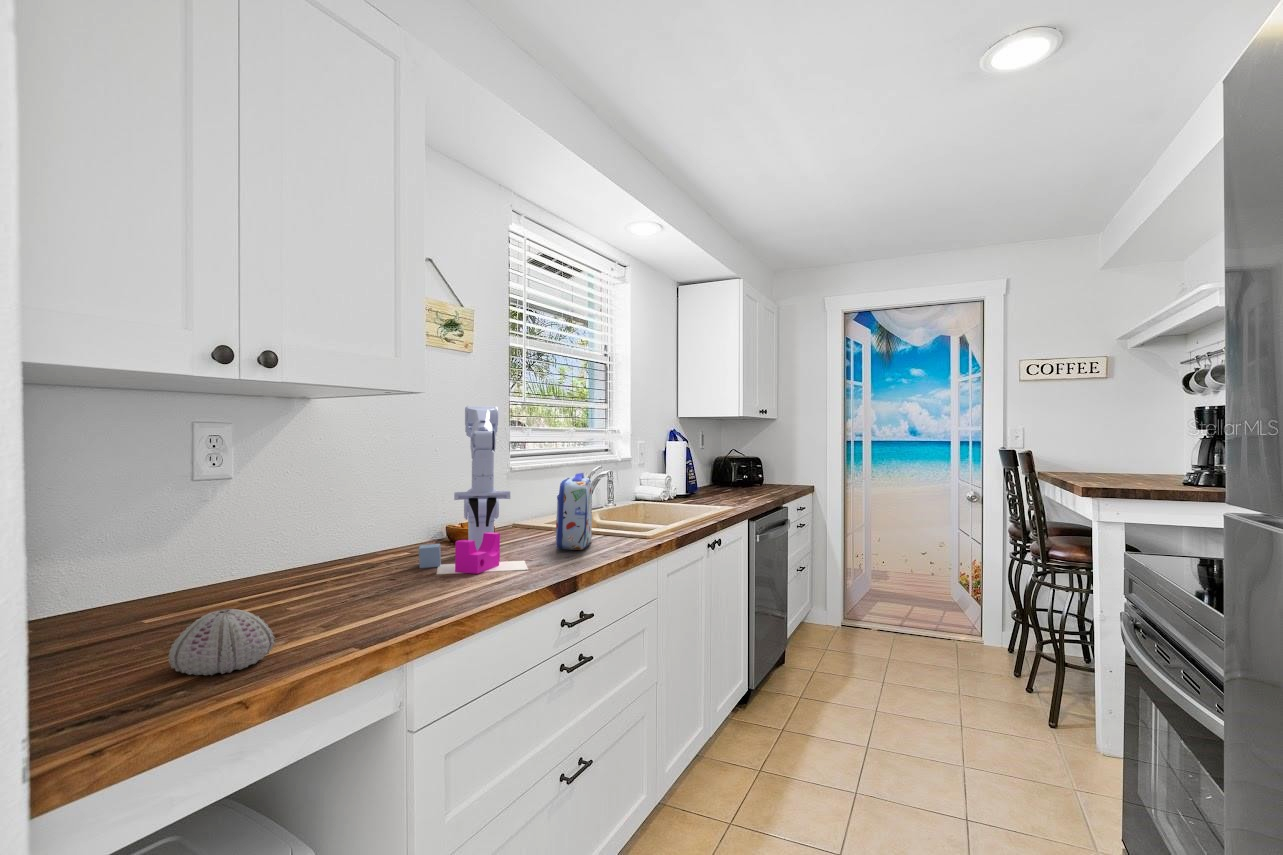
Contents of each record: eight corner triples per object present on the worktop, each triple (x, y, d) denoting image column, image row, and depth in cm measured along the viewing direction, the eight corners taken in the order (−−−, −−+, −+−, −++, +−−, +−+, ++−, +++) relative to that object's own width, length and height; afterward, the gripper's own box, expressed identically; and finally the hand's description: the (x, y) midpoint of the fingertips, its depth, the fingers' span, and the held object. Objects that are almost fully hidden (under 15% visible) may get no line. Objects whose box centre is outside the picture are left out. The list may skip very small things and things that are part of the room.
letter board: (438, 565, 166) (438, 564, 166) (524, 561, 171) (524, 560, 171) (436, 574, 155) (436, 573, 155) (528, 570, 161) (528, 569, 161)
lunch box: (561, 538, 209) (561, 470, 209) (592, 538, 209) (593, 471, 209) (553, 554, 181) (553, 477, 181) (589, 554, 182) (590, 477, 182)
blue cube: (421, 564, 167) (420, 545, 167) (441, 562, 168) (440, 543, 168) (419, 568, 162) (418, 548, 162) (440, 566, 163) (439, 546, 163)
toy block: (477, 573, 155) (477, 542, 155) (455, 571, 157) (455, 541, 157) (508, 561, 169) (508, 533, 169) (487, 560, 171) (487, 532, 171)
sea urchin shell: (211, 688, 87) (212, 629, 87) (144, 674, 92) (145, 618, 92) (294, 655, 99) (295, 604, 99) (231, 644, 104) (232, 595, 104)
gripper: (454, 476, 165) (453, 529, 165) (511, 476, 169) (510, 527, 169) (454, 475, 172) (454, 525, 172) (509, 474, 176) (509, 523, 176)
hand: (482, 526), depth 171 cm, fingers closed
